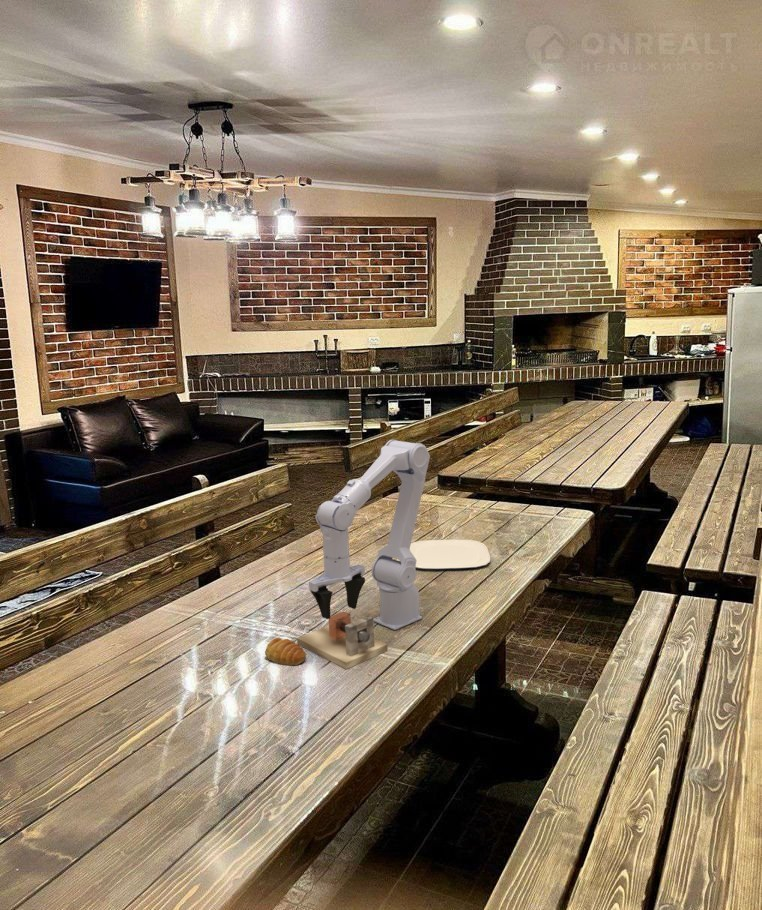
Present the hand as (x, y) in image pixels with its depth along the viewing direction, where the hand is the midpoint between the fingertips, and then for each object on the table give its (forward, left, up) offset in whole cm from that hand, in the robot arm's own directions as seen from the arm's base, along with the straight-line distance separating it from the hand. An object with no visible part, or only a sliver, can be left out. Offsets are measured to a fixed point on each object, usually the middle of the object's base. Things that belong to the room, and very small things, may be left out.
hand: (339, 612), depth 172 cm
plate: (-61, -23, -9) cm, 66 cm away
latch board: (0, 0, -8) cm, 8 cm away
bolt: (0, +4, -6) cm, 7 cm away
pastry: (+11, -5, -9) cm, 15 cm away
